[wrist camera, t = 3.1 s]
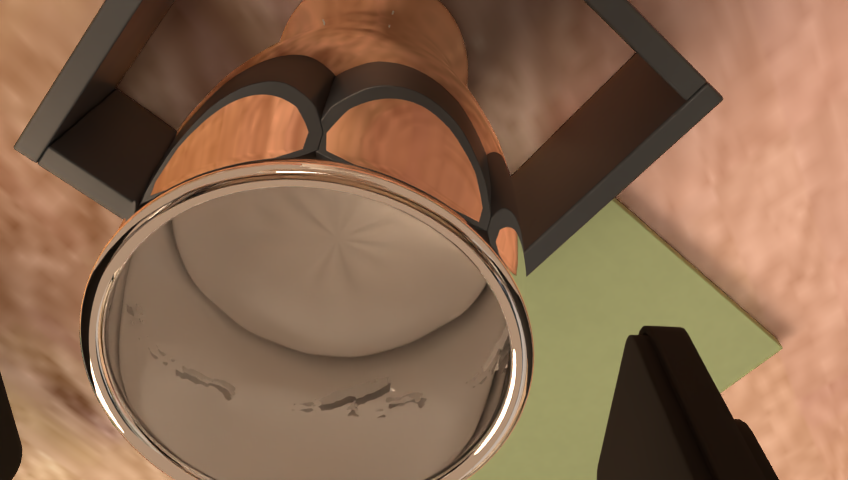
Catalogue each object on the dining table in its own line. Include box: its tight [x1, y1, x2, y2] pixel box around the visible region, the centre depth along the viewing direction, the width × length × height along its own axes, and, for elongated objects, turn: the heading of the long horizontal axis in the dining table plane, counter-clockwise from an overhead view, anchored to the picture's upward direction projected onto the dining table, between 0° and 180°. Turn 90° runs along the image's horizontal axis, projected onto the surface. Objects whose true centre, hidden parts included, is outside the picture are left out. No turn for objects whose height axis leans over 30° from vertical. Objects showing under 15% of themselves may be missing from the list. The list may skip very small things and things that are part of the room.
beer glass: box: [79, 0, 534, 480], centre depth 17 cm, size 7×7×15 cm
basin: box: [14, 0, 723, 277], centre depth 21 cm, size 13×13×5 cm
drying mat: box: [467, 198, 782, 480], centre depth 31 cm, size 20×11×1 cm, turn 139°
